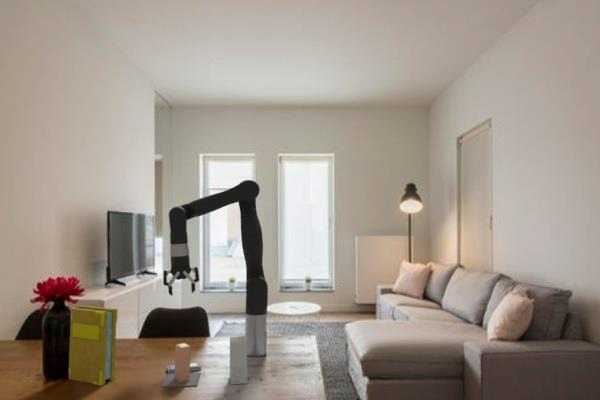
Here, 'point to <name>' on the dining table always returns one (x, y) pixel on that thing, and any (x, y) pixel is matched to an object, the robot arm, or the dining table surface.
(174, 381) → the mat
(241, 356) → the skincare box
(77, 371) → the book
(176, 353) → the tan rectangular block
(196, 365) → the blue panel box
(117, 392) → the dining table surface
